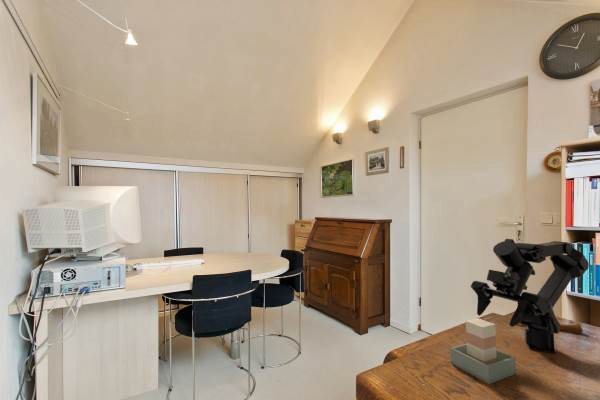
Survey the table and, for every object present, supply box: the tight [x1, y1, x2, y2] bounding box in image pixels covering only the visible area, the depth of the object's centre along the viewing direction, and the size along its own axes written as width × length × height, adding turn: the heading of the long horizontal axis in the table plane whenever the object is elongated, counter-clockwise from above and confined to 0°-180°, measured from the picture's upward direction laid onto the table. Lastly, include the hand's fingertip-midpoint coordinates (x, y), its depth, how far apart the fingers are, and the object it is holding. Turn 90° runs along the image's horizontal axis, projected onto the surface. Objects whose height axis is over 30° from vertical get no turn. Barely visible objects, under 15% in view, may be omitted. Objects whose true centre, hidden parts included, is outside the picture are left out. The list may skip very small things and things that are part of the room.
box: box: [449, 342, 517, 385], centre depth 80 cm, size 11×11×4 cm
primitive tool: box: [515, 323, 584, 335], centre depth 106 cm, size 19×6×4 cm, turn 61°
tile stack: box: [465, 317, 497, 365], centre depth 80 cm, size 5×5×12 cm
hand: (493, 320), depth 82 cm, fingers open, 9 cm apart
